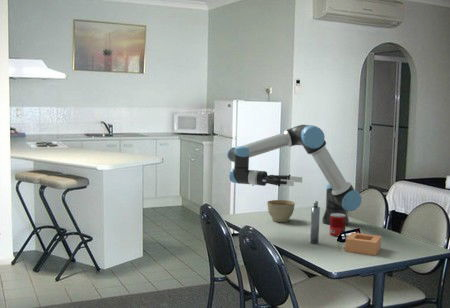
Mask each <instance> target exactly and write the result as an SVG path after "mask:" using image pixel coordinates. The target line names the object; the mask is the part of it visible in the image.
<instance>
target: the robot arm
mask: <svg viewBox="0 0 450 308" xmlns="http://www.w3.org/2000/svg"><path fill="white" fill-rule="evenodd" d="M324 133H325V132H324V131H323V130H322V129H321V128H320V127H319V126H316V125H313V124H312V125H311V124H298V125H296V126H293V127H291V128H288V129H285V130H284V131H283V132H282V133H278V134H274V135H272V136H269V137H266V138H263V139H259V140H256V141H252V142H249V143H247V144H243V145H240V146H235V147H234V146H233V147H230V148H229V149H227V152H226V157H227V159H228V160H229V161H231V162H232V163H234V168H232V169H230V170H229V175H228V177H229V180H230V182H231V183H233V184H238V185H239V184H241V185H251V186H252V187H254V186H263V187H265V186H266V185H267V184H268V185H273V186H277V187H281V186H287V187H294V185H295V183H303V176H292V175H291V174H287V175H283V174H282V175H275V174H269V175H268V172H267V171H265V170H255V169H249V168H250V167H249V165H250V158H253V157H256V156H259V155H262V154H265V153H268V152H271V151H275V150H278V149H281V148H285V147H289V148H290V147H294V146H302V147H303V149H304V150H305V152H306V153H307V155H310V156H312V158H313V160H314V162H315V163H316V164H317V166H318V168H319V170H320V171H321V173H322V174H323V176H324V177H325V180H326V181H327V182H328V184H327V185H326V190H325V191H326V198H325V201H326V202H325V210H324V212H323V216H322V223H323V224H326V225H329V226H330V215H331V214H332V213H341V214H345V215H346V223H345V226H347V225H349V224H350V219H349V215H348V212H353V211H355V210H357V209H359V208H360V206H361V204H362V201H363V200H362V199H363V198H362V195H361V193H360V192H359V191H357V190H356V189H355V188H354V187H353V185H352V183H351V182H349V181H347V180H346V178H344V175H343V174H342V172H341V170H340V169H339V167H338V165H337V164H336V162H335V160H334V158H333V157H332V155H331V154H330V152H329V150H328V149H327V147H326V146H327V142H326V140H325V134H324Z"/></svg>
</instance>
